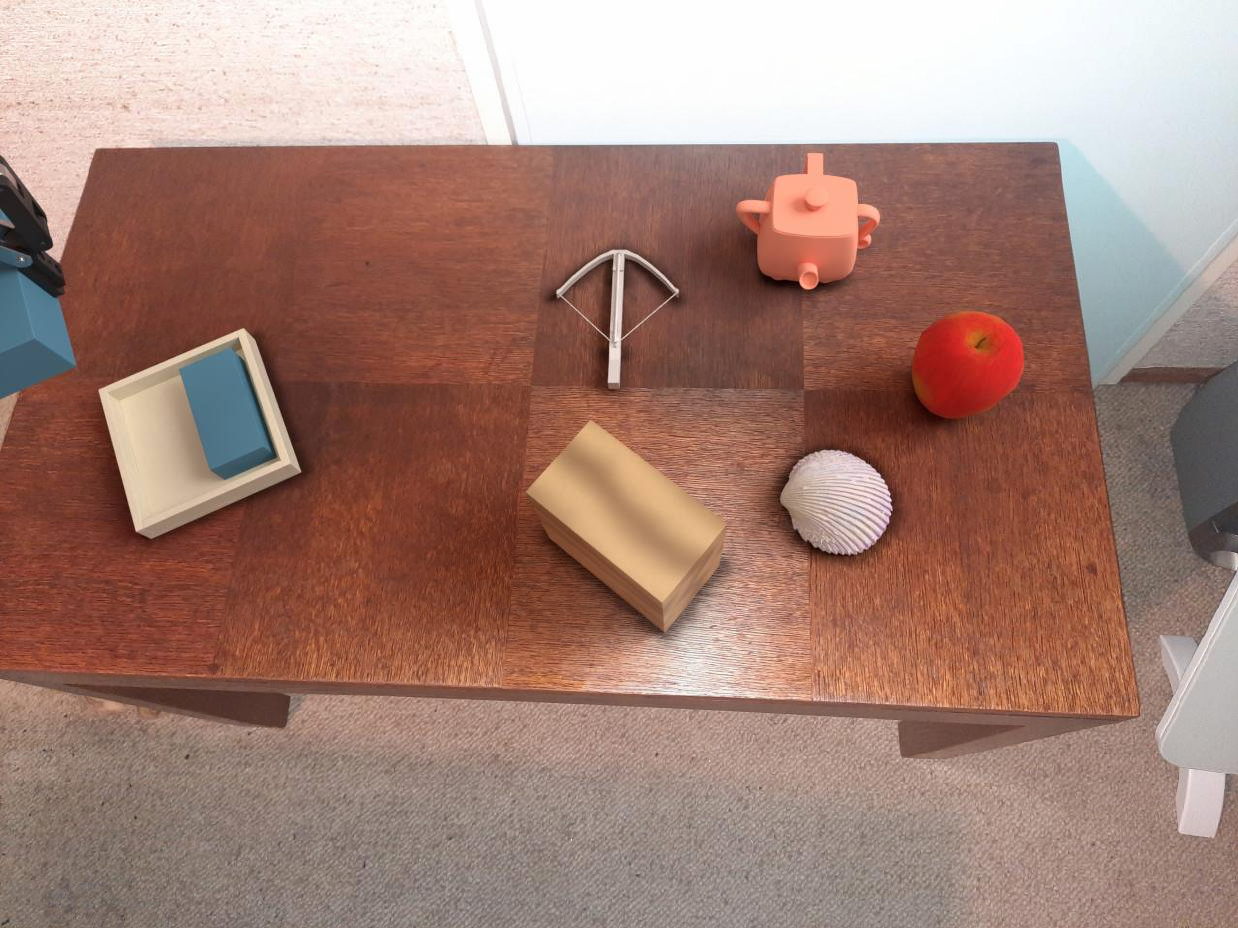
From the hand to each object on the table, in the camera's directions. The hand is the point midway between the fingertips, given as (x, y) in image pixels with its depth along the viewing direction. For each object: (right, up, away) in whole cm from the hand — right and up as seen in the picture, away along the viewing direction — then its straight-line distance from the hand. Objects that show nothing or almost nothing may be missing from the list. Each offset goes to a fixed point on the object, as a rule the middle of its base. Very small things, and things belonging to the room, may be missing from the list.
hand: (14, 303), depth 58 cm
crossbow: (+41, +4, +31) cm, 51 cm away
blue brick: (+2, -6, +29) cm, 30 cm away
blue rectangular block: (0, -1, 0) cm, 1 cm away
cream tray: (-1, -8, +29) cm, 30 cm away
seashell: (+61, -15, +23) cm, 67 cm away
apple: (+73, -4, +26) cm, 77 cm away
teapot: (+60, +11, +32) cm, 69 cm away
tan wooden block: (+42, -19, +22) cm, 51 cm away
